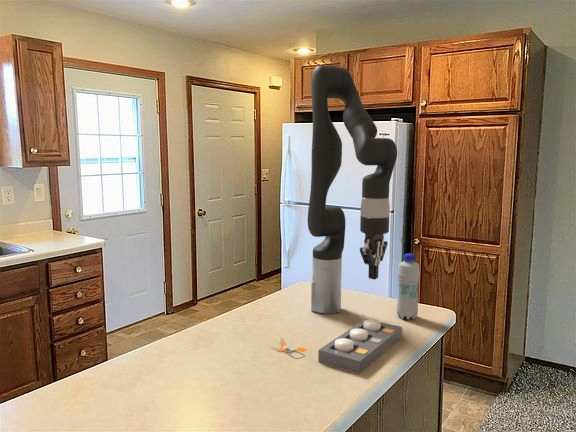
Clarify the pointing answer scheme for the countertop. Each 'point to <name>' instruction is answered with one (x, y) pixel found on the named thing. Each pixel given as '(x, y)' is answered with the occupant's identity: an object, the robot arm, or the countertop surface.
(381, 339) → the panel
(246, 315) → the countertop surface
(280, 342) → the key chain
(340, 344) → the button front
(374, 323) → the button back
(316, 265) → the robot arm
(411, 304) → the bottle
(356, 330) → the button middle
